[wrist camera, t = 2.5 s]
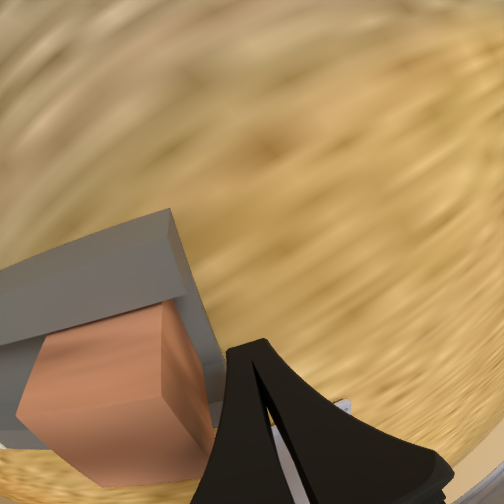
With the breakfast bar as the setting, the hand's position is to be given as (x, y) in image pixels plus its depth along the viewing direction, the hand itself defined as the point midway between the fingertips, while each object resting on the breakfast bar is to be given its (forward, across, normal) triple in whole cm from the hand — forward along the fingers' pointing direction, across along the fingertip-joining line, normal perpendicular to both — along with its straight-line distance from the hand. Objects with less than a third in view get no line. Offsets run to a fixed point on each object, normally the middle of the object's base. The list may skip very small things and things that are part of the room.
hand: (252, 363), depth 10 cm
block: (+3, +5, 0) cm, 6 cm away
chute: (+4, +10, 0) cm, 11 cm away
